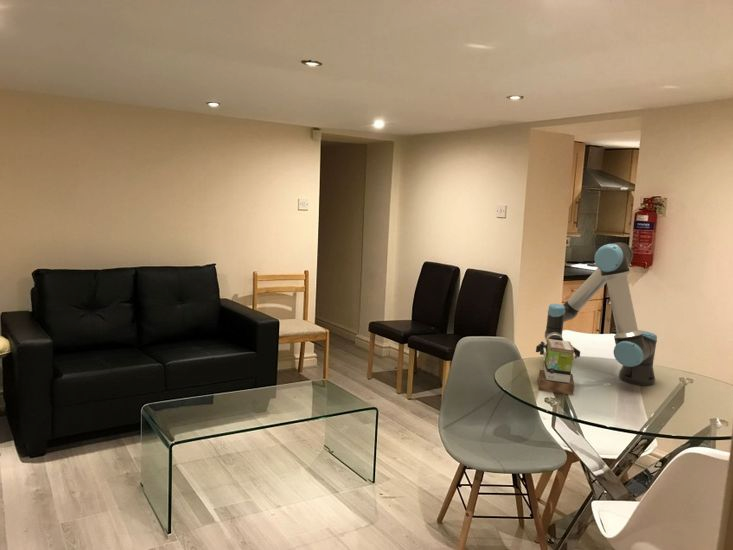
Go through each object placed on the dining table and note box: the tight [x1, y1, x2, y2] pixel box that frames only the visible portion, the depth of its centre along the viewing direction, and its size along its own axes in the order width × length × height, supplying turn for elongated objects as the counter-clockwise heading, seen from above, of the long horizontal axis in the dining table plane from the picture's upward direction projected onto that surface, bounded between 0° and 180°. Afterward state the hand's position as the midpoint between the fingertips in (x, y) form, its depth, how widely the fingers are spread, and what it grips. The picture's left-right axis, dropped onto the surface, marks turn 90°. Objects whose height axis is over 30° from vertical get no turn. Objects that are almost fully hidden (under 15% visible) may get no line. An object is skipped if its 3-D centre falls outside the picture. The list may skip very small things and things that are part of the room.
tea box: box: [543, 339, 574, 383], centre depth 256 cm, size 15×10×15 cm
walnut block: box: [538, 369, 575, 396], centre depth 258 cm, size 14×14×5 cm
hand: (559, 357), depth 253 cm, fingers open, 11 cm apart
